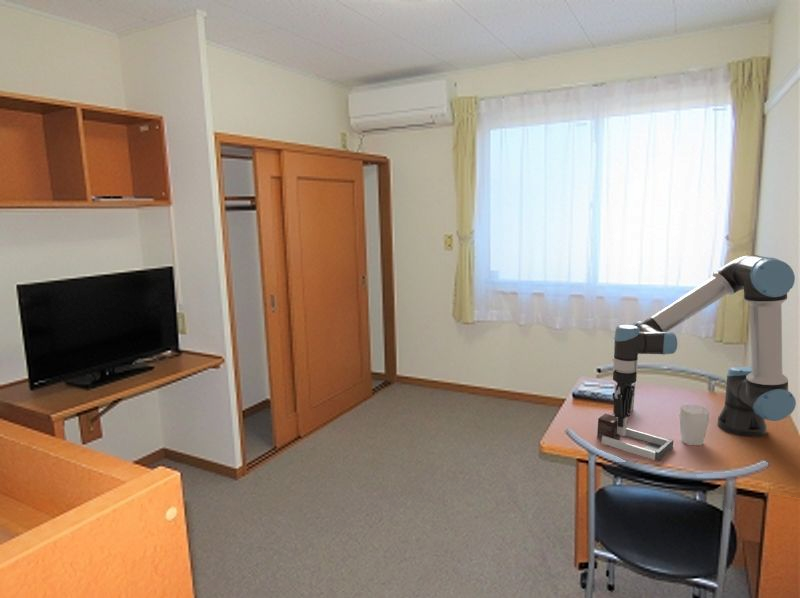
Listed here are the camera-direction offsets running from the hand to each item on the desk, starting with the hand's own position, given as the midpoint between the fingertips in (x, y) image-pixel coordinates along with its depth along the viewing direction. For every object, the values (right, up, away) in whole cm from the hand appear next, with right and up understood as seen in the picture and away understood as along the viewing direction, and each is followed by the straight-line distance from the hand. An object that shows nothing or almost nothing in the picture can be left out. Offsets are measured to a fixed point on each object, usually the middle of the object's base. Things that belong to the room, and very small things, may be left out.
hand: (621, 434), depth 187 cm
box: (-3, -2, +4) cm, 5 cm away
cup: (+24, -2, -1) cm, 24 cm away
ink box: (+12, +2, +27) cm, 29 cm away
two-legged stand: (+4, -3, -3) cm, 6 cm away
